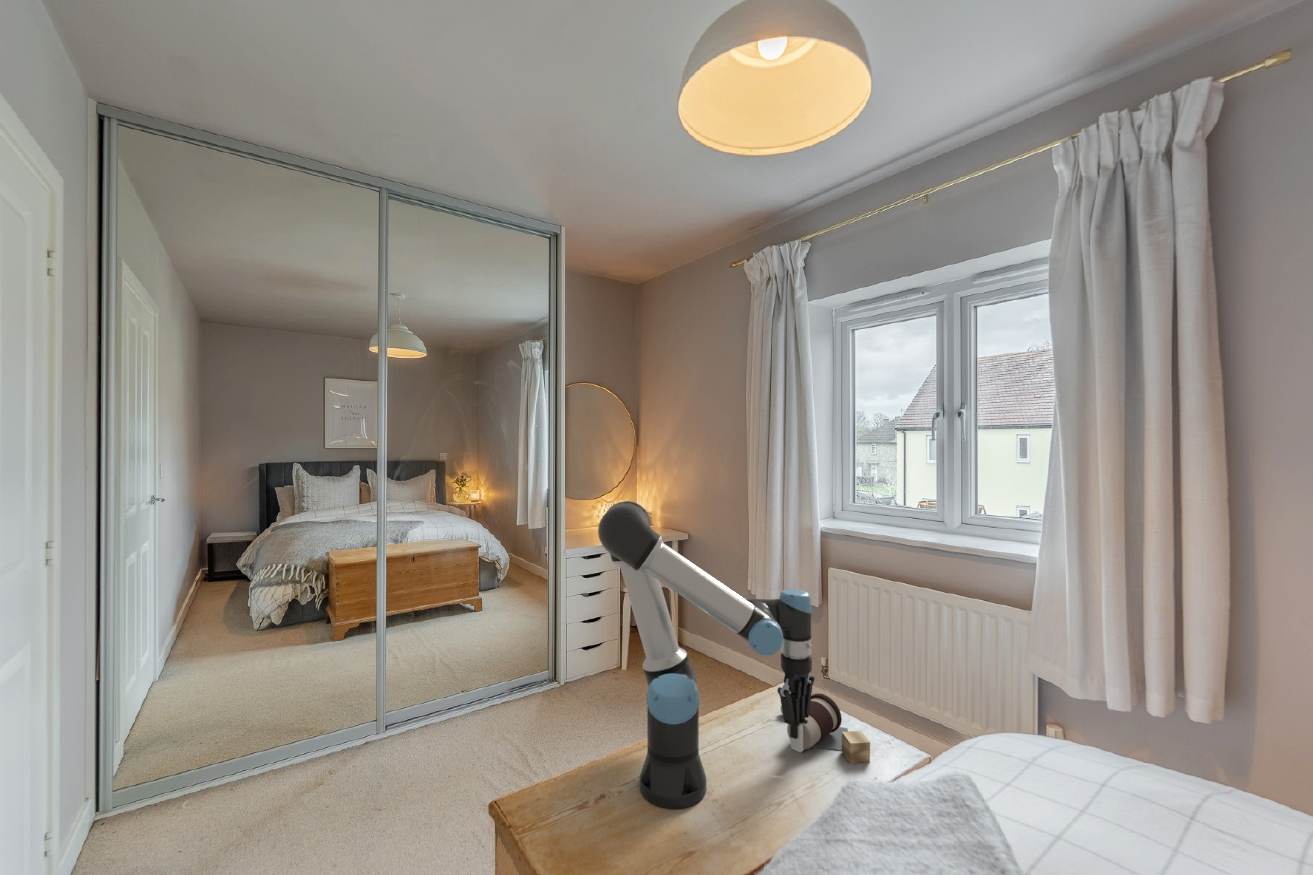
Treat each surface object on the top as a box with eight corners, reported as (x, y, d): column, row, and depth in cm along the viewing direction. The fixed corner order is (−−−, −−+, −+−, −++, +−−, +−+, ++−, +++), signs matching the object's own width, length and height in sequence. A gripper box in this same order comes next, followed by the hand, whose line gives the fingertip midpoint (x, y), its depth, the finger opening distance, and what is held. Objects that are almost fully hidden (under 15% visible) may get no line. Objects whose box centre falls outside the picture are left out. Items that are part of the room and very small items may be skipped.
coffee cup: (788, 707, 145) (817, 683, 156) (777, 735, 148) (806, 709, 159) (821, 735, 139) (849, 708, 149) (809, 764, 142) (837, 735, 153)
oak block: (850, 763, 138) (850, 743, 138) (841, 751, 143) (841, 731, 143) (869, 762, 139) (870, 742, 139) (860, 750, 144) (861, 730, 144)
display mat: (801, 745, 146) (801, 744, 146) (802, 723, 158) (802, 722, 158) (850, 752, 143) (850, 751, 143) (847, 728, 155) (847, 727, 155)
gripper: (794, 665, 134) (795, 765, 133) (823, 651, 142) (824, 745, 142) (768, 656, 139) (768, 753, 139) (797, 643, 148) (798, 734, 148)
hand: (797, 749), depth 141 cm, fingers closed
